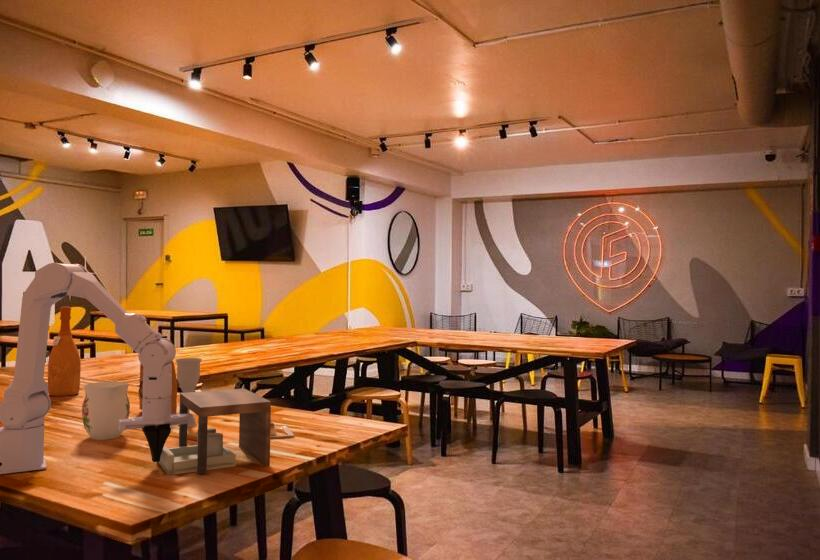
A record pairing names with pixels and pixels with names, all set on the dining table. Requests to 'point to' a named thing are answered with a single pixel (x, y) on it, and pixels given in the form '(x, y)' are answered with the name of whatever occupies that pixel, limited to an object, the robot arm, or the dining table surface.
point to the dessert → (286, 429)
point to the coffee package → (174, 389)
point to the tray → (187, 456)
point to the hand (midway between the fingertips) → (155, 460)
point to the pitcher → (105, 409)
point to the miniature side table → (226, 403)
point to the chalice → (188, 376)
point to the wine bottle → (64, 360)
